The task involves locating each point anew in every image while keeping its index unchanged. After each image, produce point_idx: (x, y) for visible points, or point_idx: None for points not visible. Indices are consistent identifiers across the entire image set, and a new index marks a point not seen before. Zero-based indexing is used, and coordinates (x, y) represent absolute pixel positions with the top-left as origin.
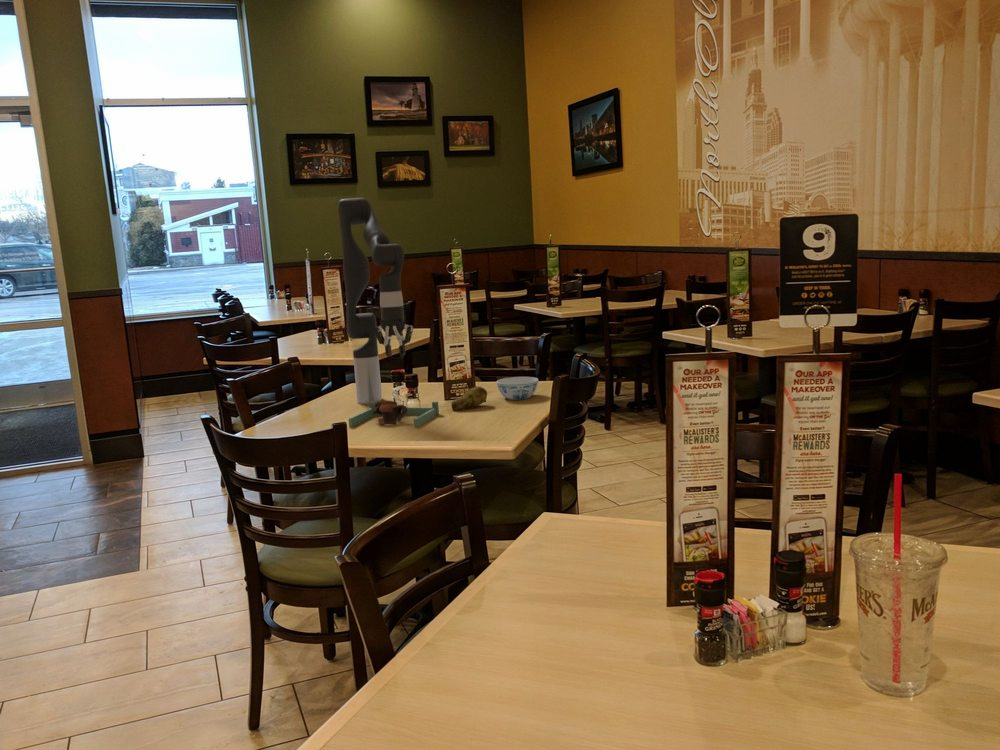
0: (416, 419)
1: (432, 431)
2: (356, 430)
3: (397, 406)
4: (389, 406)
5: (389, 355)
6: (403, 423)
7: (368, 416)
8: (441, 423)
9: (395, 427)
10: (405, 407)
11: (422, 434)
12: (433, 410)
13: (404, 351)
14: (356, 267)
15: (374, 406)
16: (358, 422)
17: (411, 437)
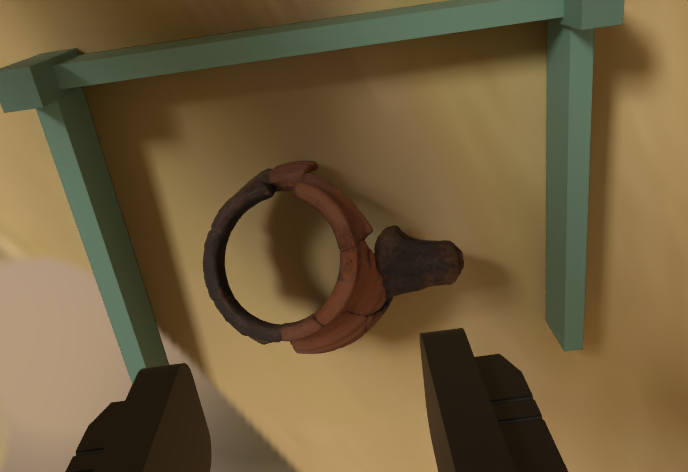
0: (580, 347)
1: (673, 356)
2: (243, 412)
3: (400, 288)
4: (358, 327)
5: (203, 451)
6: (418, 229)
7: (101, 177)
8: (667, 184)
9: (423, 321)
10: (458, 271)
11: (640, 413)
12: (590, 72)
13: (520, 417)
14: None
15: (56, 94)
16: (145, 305)
17: (606, 464)
